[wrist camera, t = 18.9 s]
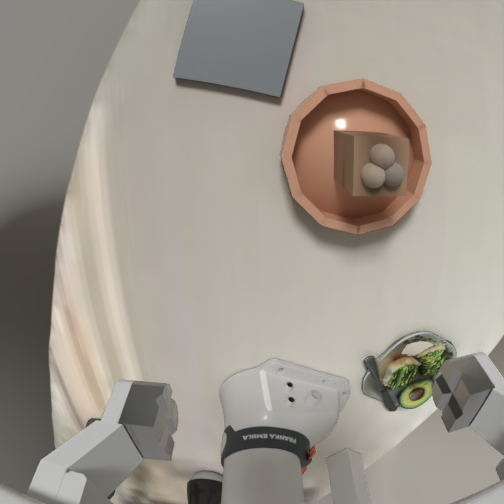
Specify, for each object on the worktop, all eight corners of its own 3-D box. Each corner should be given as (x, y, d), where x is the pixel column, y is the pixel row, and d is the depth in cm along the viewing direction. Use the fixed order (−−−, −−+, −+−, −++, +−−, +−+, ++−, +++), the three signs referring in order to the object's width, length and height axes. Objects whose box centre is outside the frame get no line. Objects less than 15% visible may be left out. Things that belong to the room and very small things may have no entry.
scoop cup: (379, 132, 33) (415, 140, 25) (378, 178, 36) (412, 200, 27) (333, 130, 33) (358, 137, 25) (333, 178, 36) (357, 200, 27)
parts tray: (303, 5, 28) (304, 3, 27) (279, 97, 33) (280, 97, 32) (199, -13, 27) (198, -16, 26) (175, 77, 32) (172, 77, 31)
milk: (326, 457, 62) (337, 538, 42) (347, 447, 61) (362, 530, 40) (340, 463, 64) (352, 539, 44) (361, 453, 62) (377, 531, 42)
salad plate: (331, 381, 51) (335, 401, 47) (404, 308, 45) (416, 326, 41) (398, 408, 55) (404, 425, 51) (462, 349, 49) (473, 364, 45)
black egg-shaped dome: (234, 470, 65) (231, 523, 51) (223, 484, 69) (220, 532, 55) (192, 462, 64) (185, 516, 50) (186, 477, 68) (179, 525, 54)
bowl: (430, 112, 33) (445, 114, 30) (391, 235, 40) (402, 246, 36) (301, 64, 31) (306, 59, 28) (265, 203, 38) (266, 212, 35)
